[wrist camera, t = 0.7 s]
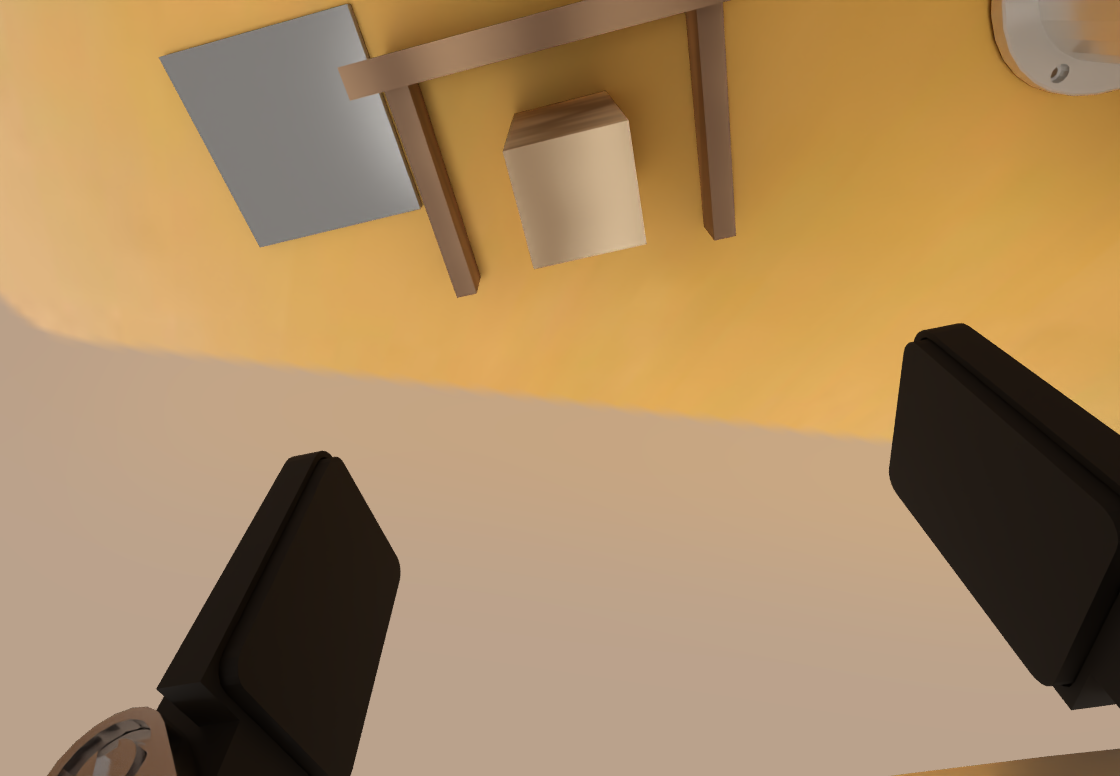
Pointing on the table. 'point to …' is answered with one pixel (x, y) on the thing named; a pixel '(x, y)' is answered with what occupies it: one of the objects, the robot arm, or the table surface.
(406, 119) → the wooden arch bench
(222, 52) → the coaster
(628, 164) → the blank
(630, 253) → the table surface
